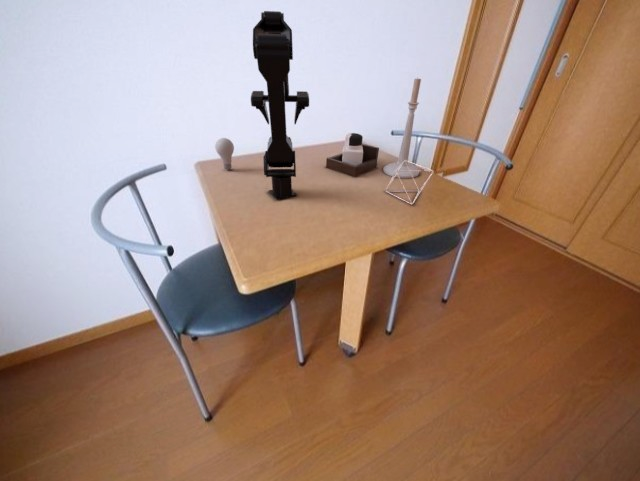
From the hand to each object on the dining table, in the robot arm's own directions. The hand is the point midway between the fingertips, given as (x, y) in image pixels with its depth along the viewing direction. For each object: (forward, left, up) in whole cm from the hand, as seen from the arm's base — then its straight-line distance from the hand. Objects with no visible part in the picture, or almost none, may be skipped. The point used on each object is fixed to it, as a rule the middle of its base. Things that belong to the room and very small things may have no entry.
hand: (281, 123), depth 100 cm
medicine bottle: (-15, -20, -15) cm, 29 cm away
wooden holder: (-15, -20, -14) cm, 29 cm away
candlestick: (-27, -34, -15) cm, 46 cm away
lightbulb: (+4, +20, -15) cm, 25 cm away
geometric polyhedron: (-43, -20, -15) cm, 50 cm away
